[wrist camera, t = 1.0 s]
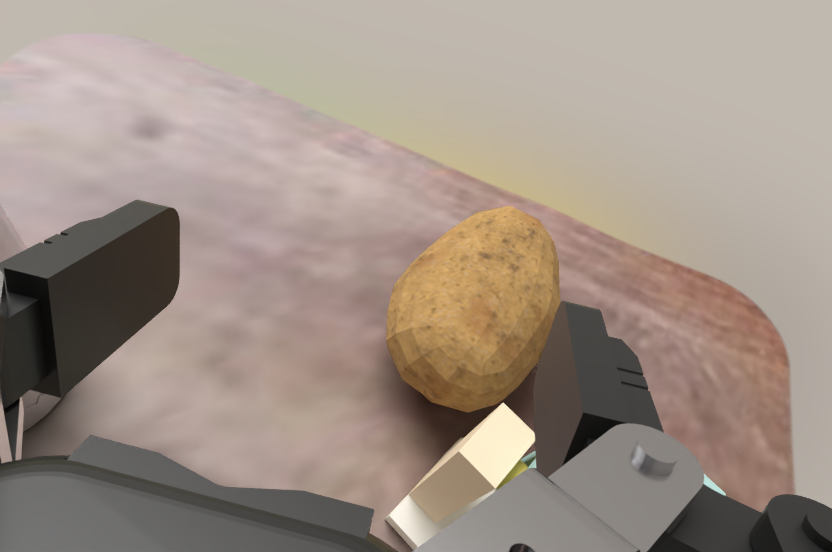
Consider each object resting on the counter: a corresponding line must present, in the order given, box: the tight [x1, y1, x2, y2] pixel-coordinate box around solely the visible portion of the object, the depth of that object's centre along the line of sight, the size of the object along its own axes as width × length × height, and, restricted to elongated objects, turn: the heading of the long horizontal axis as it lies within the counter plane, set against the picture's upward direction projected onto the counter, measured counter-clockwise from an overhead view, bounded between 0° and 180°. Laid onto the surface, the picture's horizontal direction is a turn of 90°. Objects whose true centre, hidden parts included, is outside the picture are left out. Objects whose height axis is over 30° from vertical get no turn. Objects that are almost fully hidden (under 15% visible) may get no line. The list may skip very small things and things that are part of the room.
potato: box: [386, 206, 560, 413], centre depth 35 cm, size 10×14×8 cm
